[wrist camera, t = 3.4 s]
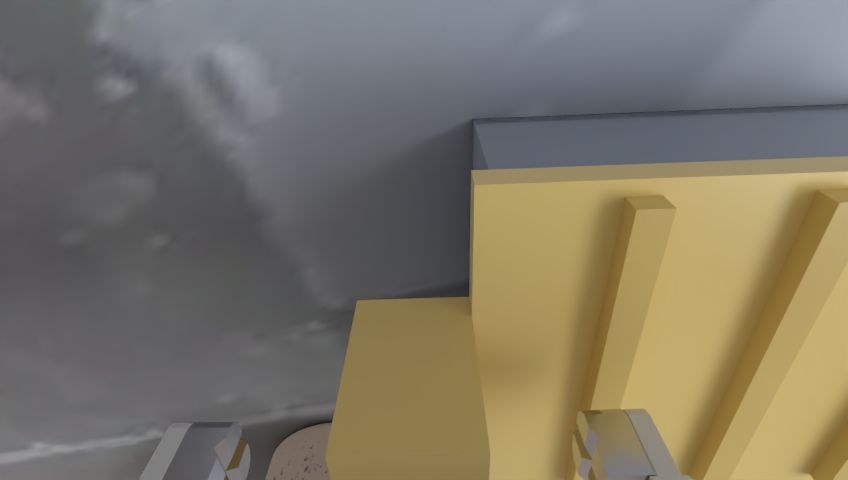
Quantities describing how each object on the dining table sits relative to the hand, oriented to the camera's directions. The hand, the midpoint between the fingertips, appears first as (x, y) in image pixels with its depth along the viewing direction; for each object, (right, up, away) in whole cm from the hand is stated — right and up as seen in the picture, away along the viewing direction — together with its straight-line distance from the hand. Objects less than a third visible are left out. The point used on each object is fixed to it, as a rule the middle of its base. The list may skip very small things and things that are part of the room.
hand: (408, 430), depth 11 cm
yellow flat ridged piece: (+8, +2, +2) cm, 8 cm away
